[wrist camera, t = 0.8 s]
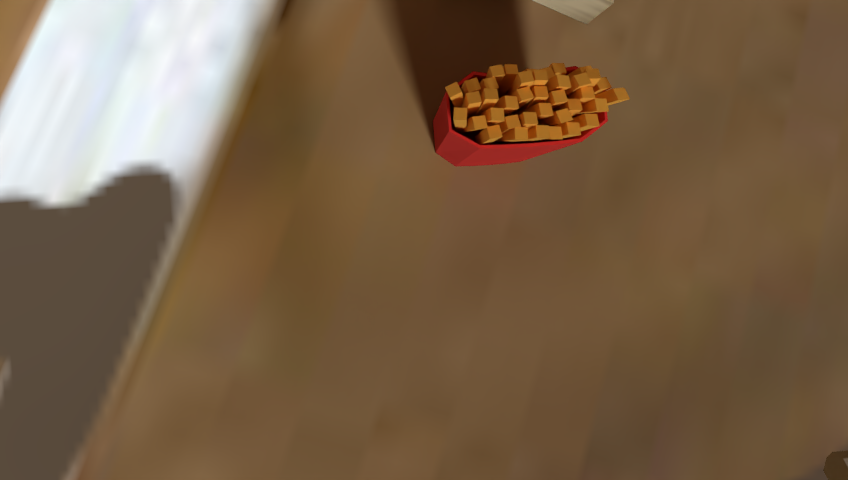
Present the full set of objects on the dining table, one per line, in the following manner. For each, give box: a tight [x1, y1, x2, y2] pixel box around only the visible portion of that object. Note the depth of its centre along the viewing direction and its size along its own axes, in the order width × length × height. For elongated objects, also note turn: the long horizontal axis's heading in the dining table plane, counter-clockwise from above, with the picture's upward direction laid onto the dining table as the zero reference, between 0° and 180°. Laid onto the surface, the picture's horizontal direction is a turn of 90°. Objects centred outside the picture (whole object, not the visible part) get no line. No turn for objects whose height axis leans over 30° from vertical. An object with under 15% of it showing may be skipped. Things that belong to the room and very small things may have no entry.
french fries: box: [433, 63, 630, 166], centre depth 39 cm, size 8×4×12 cm, turn 94°
